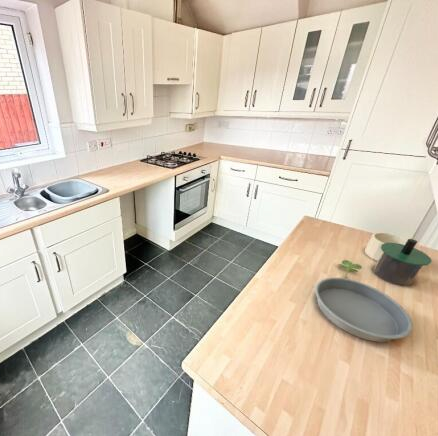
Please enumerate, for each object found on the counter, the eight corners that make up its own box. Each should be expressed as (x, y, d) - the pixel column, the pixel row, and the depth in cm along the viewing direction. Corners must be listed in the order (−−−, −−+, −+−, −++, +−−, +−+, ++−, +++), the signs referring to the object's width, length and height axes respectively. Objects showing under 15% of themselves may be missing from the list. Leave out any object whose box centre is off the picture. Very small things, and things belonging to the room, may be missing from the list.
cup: (400, 269, 99) (413, 249, 94) (418, 288, 89) (432, 267, 85) (368, 264, 102) (378, 244, 97) (381, 282, 92) (394, 261, 88)
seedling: (340, 283, 99) (345, 270, 101) (362, 285, 91) (366, 270, 93) (328, 273, 98) (333, 260, 100) (349, 274, 91) (354, 259, 93)
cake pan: (404, 365, 65) (413, 355, 63) (303, 314, 80) (307, 304, 78) (406, 311, 81) (413, 301, 78) (320, 276, 96) (324, 267, 94)
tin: (392, 250, 110) (401, 234, 106) (409, 267, 99) (420, 250, 95) (359, 245, 113) (367, 230, 109) (372, 262, 103) (381, 245, 99)
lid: (415, 247, 95) (424, 233, 91) (440, 270, 83) (451, 254, 80) (373, 242, 98) (380, 228, 95) (391, 263, 87) (400, 248, 84)
